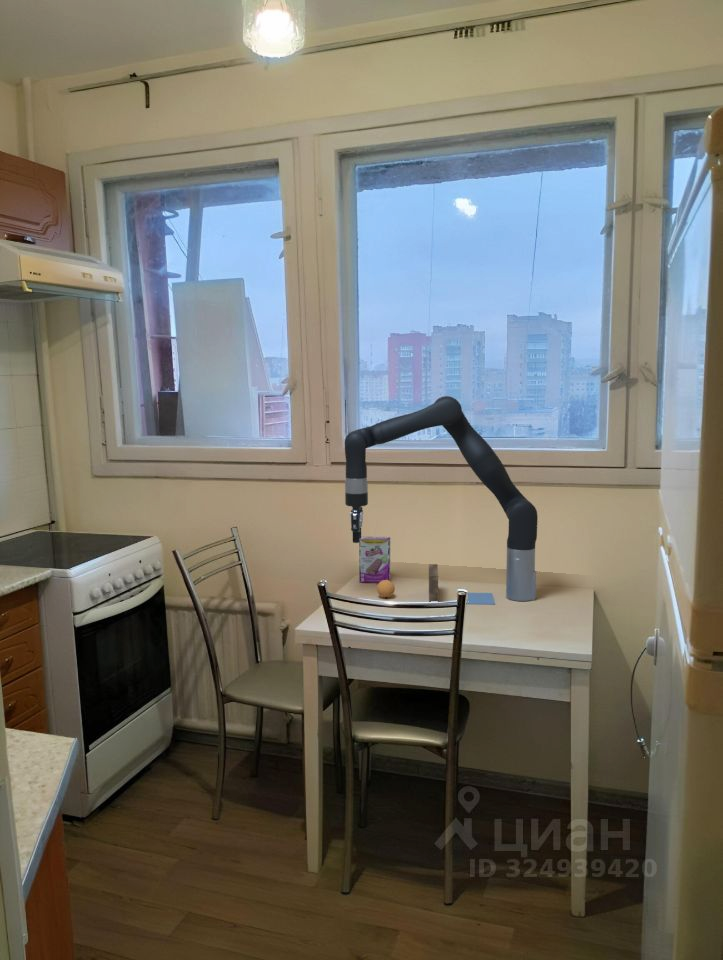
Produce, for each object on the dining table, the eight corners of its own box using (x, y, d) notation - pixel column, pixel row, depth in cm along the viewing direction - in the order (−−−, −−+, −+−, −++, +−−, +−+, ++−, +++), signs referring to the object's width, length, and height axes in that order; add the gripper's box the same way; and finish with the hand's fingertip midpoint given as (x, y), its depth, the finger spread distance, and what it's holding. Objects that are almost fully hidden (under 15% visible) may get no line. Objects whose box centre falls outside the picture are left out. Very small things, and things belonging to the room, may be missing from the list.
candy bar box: (359, 583, 256) (358, 539, 254) (360, 579, 261) (360, 536, 259) (390, 583, 255) (389, 539, 253) (390, 579, 260) (390, 536, 258)
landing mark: (491, 593, 242) (491, 592, 242) (495, 604, 230) (495, 603, 230) (456, 593, 243) (456, 592, 243) (458, 603, 231) (458, 603, 231)
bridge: (437, 591, 245) (437, 564, 243) (438, 605, 230) (438, 576, 229) (428, 591, 245) (428, 564, 244) (429, 604, 230) (429, 576, 229)
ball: (395, 594, 242) (395, 577, 241) (394, 600, 236) (394, 582, 235) (377, 594, 242) (377, 577, 241) (376, 600, 236) (376, 582, 235)
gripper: (365, 494, 227) (366, 545, 230) (369, 487, 241) (369, 535, 244) (342, 494, 228) (343, 545, 230) (347, 487, 242) (348, 535, 244)
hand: (357, 540), depth 237 cm, fingers open, 6 cm apart
